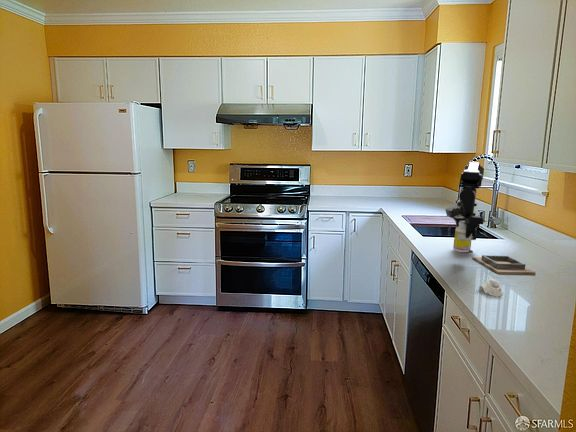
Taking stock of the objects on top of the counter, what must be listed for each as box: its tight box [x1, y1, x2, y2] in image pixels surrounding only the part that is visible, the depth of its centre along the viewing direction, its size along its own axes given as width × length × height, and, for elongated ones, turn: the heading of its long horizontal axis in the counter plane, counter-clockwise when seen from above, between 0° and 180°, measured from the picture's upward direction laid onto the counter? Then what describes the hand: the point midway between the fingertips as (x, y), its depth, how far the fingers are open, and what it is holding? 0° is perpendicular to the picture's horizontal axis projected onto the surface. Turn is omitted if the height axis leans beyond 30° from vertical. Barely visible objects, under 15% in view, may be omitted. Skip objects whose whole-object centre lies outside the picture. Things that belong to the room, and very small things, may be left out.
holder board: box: [472, 254, 537, 276], centre depth 171 cm, size 20×16×3 cm
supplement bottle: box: [452, 221, 473, 253], centre depth 172 cm, size 7×7×13 cm
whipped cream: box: [478, 279, 504, 297], centre depth 140 cm, size 8×7×5 cm
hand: (463, 236), depth 172 cm, fingers closed on supplement bottle, 7 cm apart
